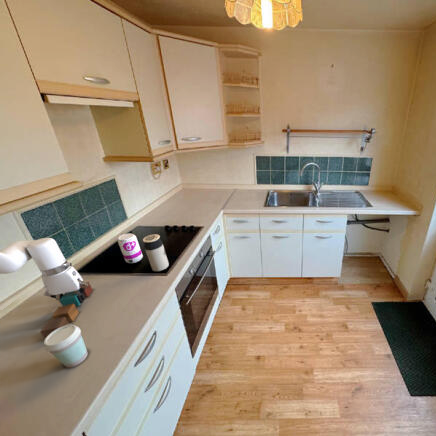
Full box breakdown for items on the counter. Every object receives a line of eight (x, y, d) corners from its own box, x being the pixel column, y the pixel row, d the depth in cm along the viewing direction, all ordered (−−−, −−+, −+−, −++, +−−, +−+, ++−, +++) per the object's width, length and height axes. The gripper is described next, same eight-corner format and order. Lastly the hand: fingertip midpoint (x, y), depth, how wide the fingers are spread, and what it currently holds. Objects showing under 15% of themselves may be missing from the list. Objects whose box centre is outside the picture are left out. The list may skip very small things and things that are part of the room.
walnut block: (47, 341, 83) (40, 331, 80) (54, 329, 87) (48, 320, 85) (64, 336, 84) (57, 327, 82) (70, 325, 88) (64, 316, 86)
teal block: (65, 309, 94) (59, 300, 92) (70, 300, 98) (65, 291, 96) (79, 305, 95) (74, 296, 93) (84, 297, 100) (80, 288, 97)
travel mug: (150, 272, 117) (139, 242, 109) (155, 263, 124) (145, 234, 116) (166, 270, 118) (157, 240, 111) (170, 261, 126) (162, 233, 118)
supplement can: (144, 260, 127) (135, 236, 121) (126, 265, 123) (117, 242, 116) (142, 253, 133) (134, 231, 127) (125, 258, 129) (116, 235, 122)
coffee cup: (94, 342, 82) (80, 318, 77) (91, 362, 75) (75, 337, 70) (62, 355, 78) (45, 331, 72) (56, 377, 71) (37, 352, 66)
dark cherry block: (74, 300, 101) (69, 291, 98) (79, 292, 105) (75, 284, 103) (88, 297, 102) (83, 288, 100) (92, 289, 106) (88, 281, 104)
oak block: (57, 325, 89) (51, 316, 86) (64, 315, 93) (58, 306, 91) (73, 321, 90) (67, 312, 88) (79, 312, 94) (73, 303, 92)
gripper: (85, 258, 95) (102, 291, 102) (33, 267, 90) (54, 301, 97) (77, 268, 88) (95, 303, 96) (20, 279, 83) (44, 315, 91)
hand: (74, 302), depth 97 cm, fingers closed on teal block, 5 cm apart
